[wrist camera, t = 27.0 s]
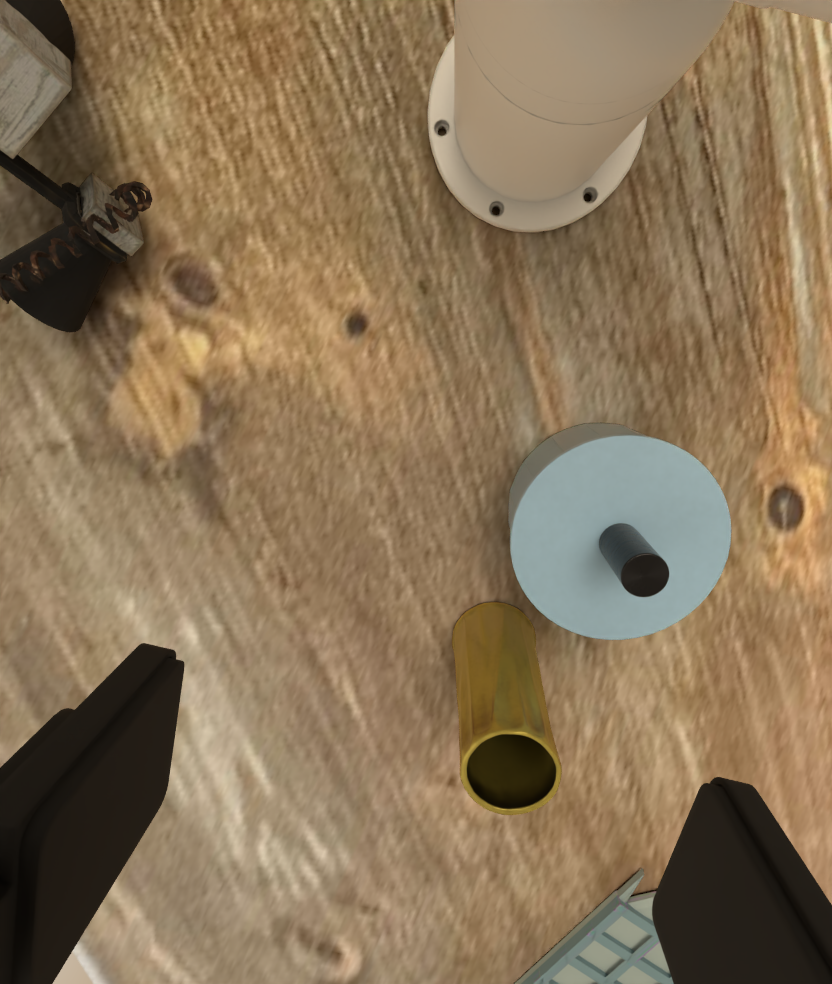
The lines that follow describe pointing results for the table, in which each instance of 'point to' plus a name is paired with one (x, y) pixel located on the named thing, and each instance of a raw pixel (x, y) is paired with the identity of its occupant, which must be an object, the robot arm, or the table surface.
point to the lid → (620, 536)
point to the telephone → (105, 212)
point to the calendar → (608, 946)
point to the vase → (503, 712)
